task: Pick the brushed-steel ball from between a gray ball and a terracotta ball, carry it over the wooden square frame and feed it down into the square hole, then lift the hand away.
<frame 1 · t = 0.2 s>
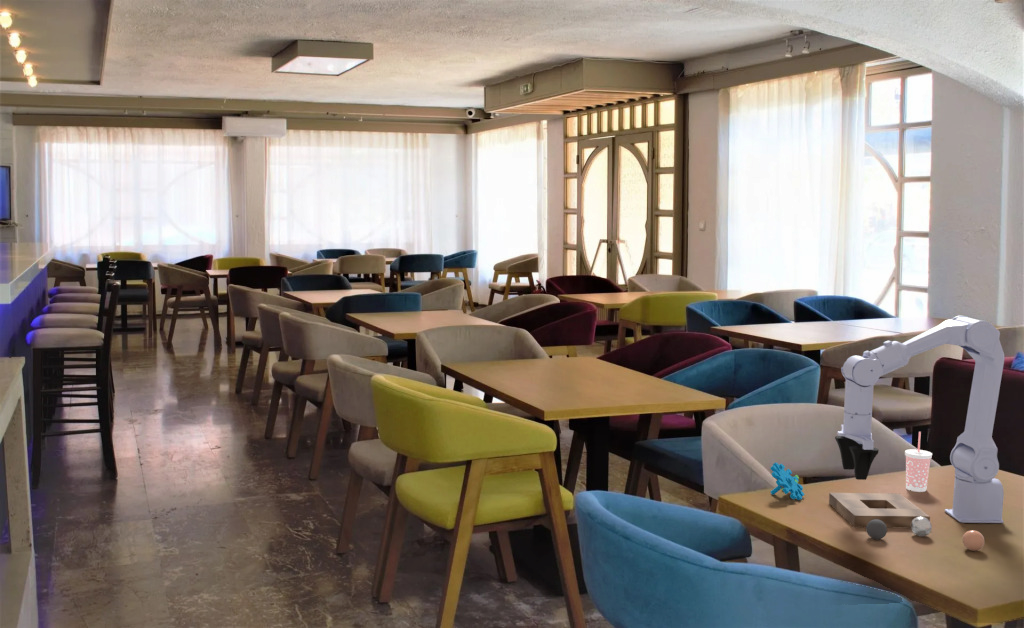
hand: (854, 474, 212), 10 cm above the table, fingers open, 7 cm apart
gray ball: (876, 529, 201), point 2 cm above the table
wooden square frame: (877, 515, 216), on the table
blue branched piece: (787, 497, 229), on the table
steel ball: (921, 526, 203), point 2 cm above the table
beverage cup: (916, 489, 236), on the table
terracotta ball: (973, 540, 195), point 2 cm above the table
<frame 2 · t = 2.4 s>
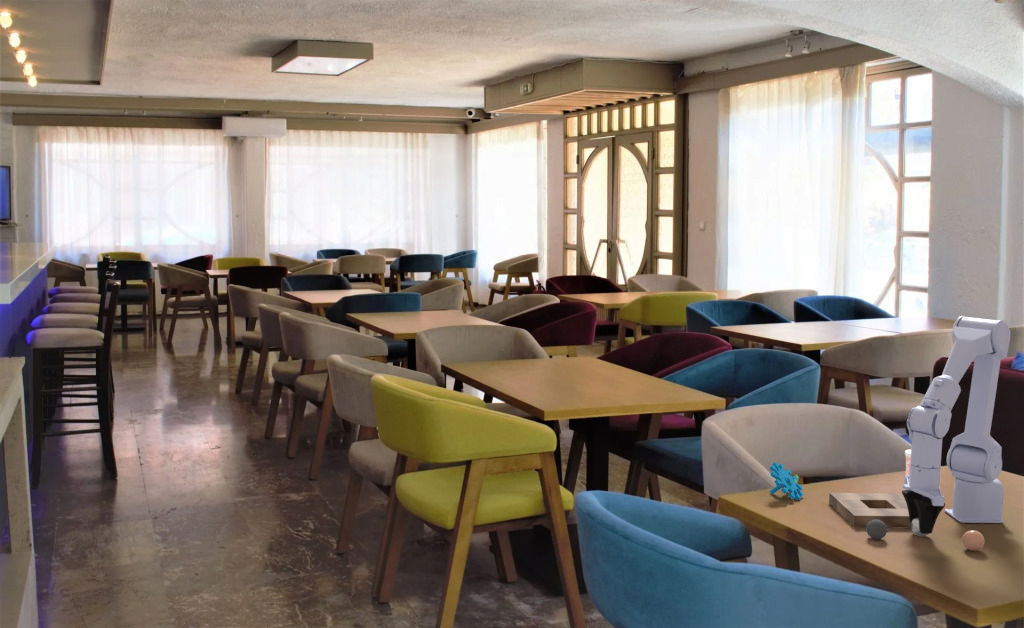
hand: (920, 529, 203), 1 cm above the table, fingers closed on steel ball, 4 cm apart
steel ball: (921, 526, 203), point 2 cm above the table, touching gripper
everything else where it was.
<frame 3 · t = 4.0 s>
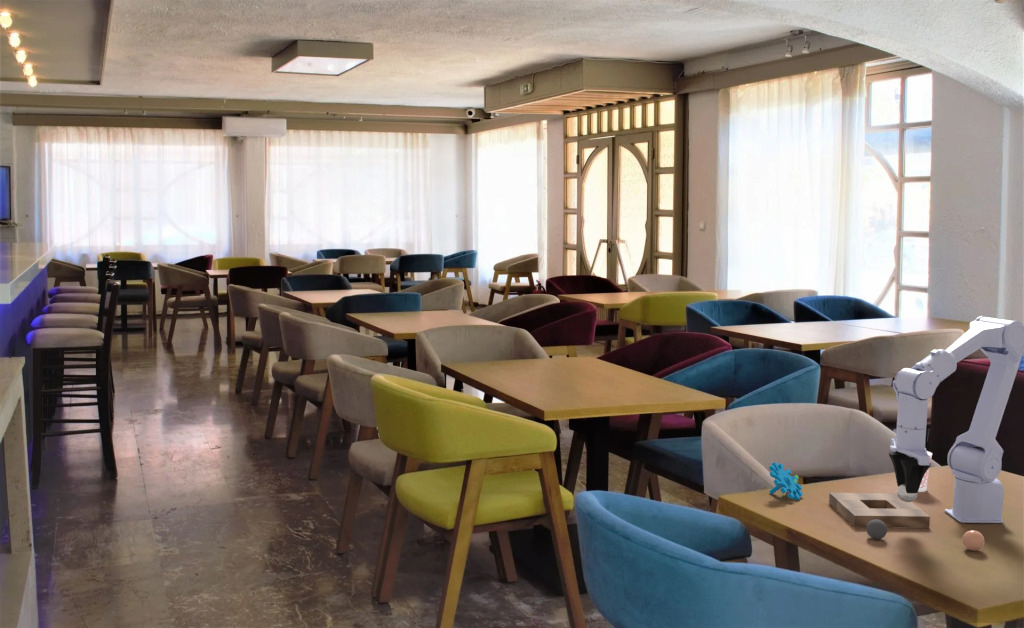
hand: (907, 489, 207), 8 cm above the table, fingers closed on steel ball, 4 cm apart
steel ball: (907, 492, 207), point 8 cm above the table, tilted 13°, touching gripper
everything else where it was.
when the fingers open (4 cm above the table, at t = 5.5 s): steel ball stays where it is and tips over, point 2 cm above the table.
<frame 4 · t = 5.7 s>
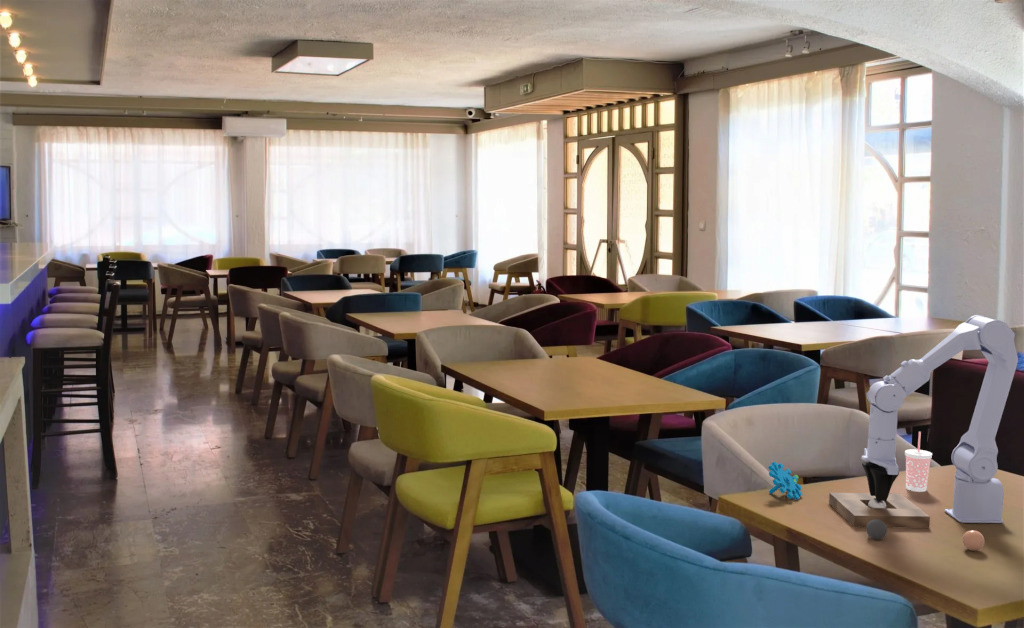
hand: (878, 497, 216), 4 cm above the table, fingers open, 3 cm apart
steel ball: (877, 507, 215), point 2 cm above the table, tilted 123°
everything else where it was.
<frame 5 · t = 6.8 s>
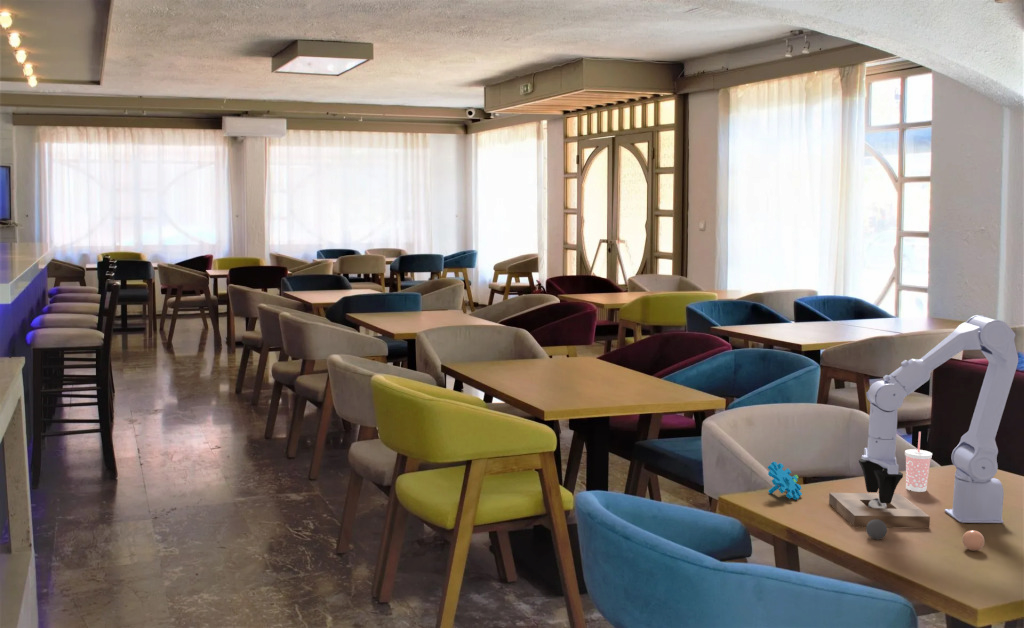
hand: (878, 497, 216), 4 cm above the table, fingers open, 7 cm apart
nothing on the table moved.
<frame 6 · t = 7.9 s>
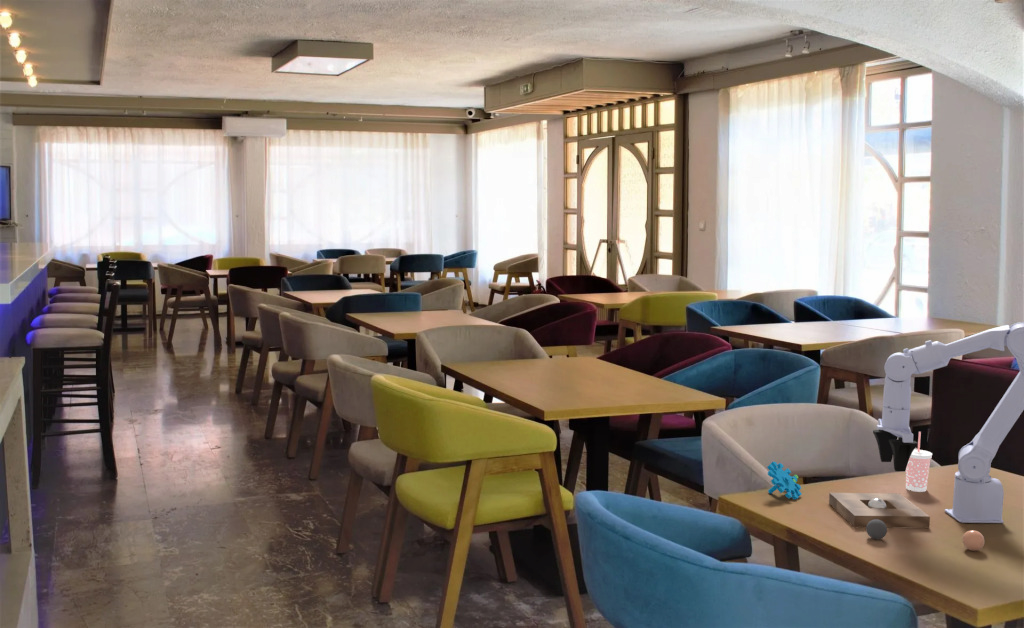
hand: (892, 466, 221), 9 cm above the table, fingers open, 7 cm apart
steel ball: (877, 507, 215), point 2 cm above the table, tilted 122°
everything else where it was.
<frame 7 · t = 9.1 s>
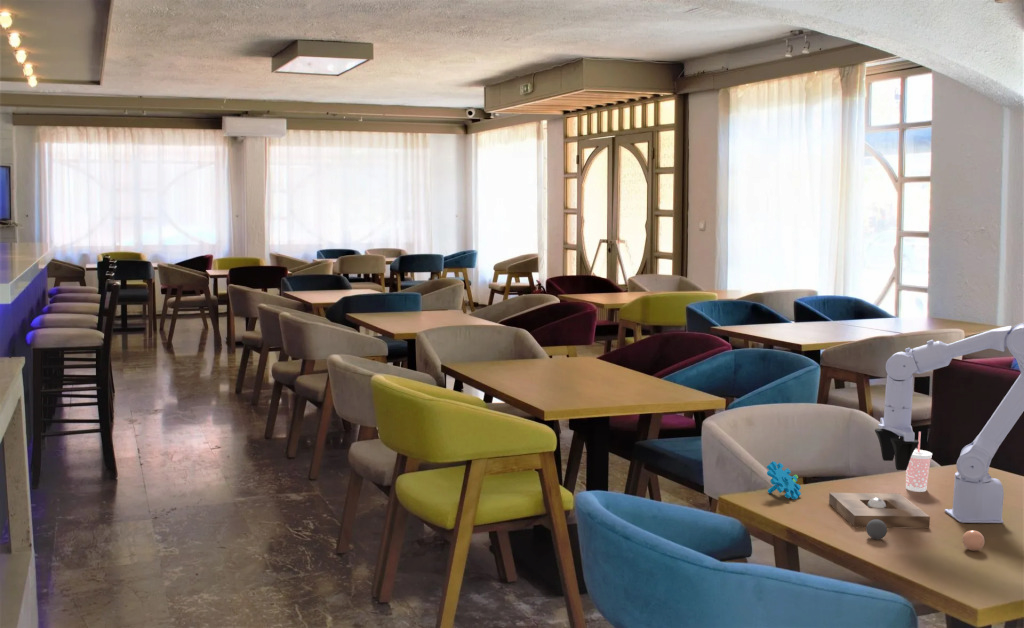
hand: (894, 465, 222), 9 cm above the table, fingers open, 7 cm apart
steel ball: (876, 507, 215), point 2 cm above the table, tilted 116°
everything else where it was.
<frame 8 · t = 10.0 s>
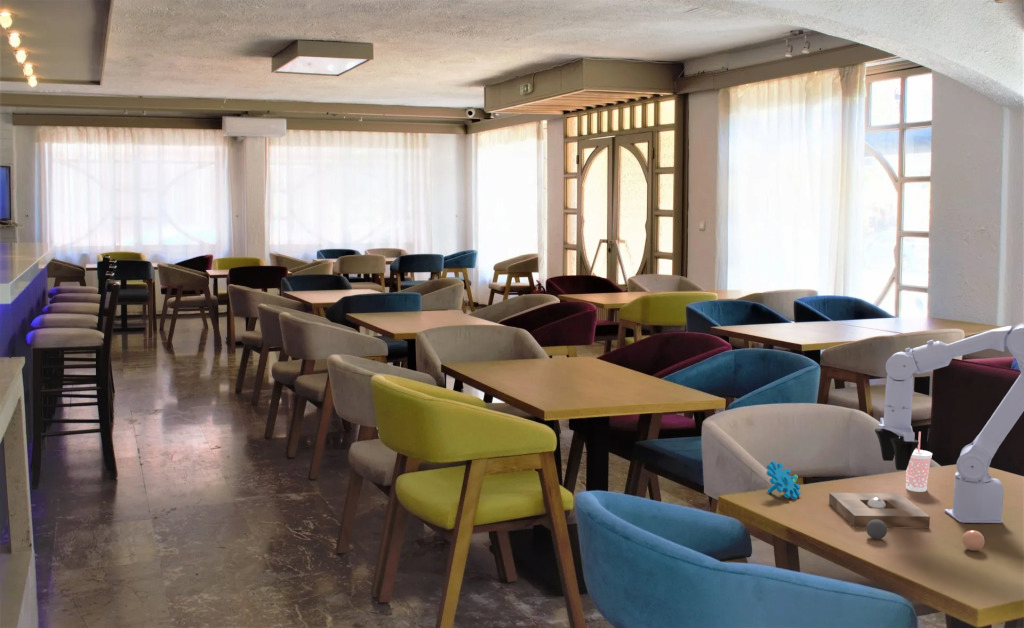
hand: (894, 465, 222), 9 cm above the table, fingers open, 7 cm apart
at the end: steel ball 0.5 cm off-centre on the wooden square frame, point 2.0 cm above the wooden square frame's base; the gripper is holding nothing; steel ball moved 13.5 cm from its start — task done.
